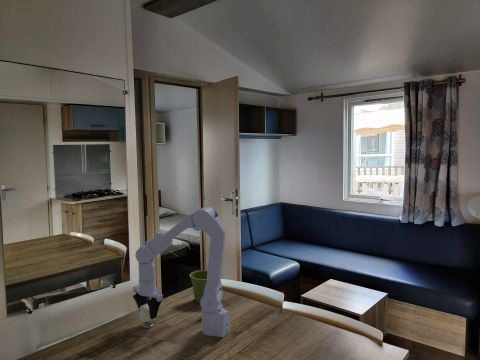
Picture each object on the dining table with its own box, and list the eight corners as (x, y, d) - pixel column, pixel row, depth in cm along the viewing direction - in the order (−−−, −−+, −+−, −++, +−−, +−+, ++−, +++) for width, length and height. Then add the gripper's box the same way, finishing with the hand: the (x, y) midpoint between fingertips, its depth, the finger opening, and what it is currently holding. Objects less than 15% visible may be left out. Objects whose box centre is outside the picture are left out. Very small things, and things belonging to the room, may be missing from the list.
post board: (191, 332, 131) (191, 315, 130) (177, 346, 121) (176, 328, 121) (144, 323, 138) (143, 307, 137) (126, 335, 129) (126, 318, 128)
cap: (159, 317, 133) (158, 306, 133) (145, 323, 129) (145, 311, 129) (150, 313, 137) (149, 302, 137) (136, 318, 133) (136, 307, 133)
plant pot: (206, 308, 151) (206, 281, 150) (184, 302, 157) (183, 276, 156) (223, 298, 161) (222, 272, 160) (201, 293, 167) (200, 268, 166)
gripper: (169, 279, 131) (170, 317, 132) (143, 271, 140) (144, 306, 141) (153, 285, 125) (154, 324, 126) (127, 276, 134) (128, 313, 135)
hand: (148, 315), depth 133 cm, fingers closed on cap, 6 cm apart
